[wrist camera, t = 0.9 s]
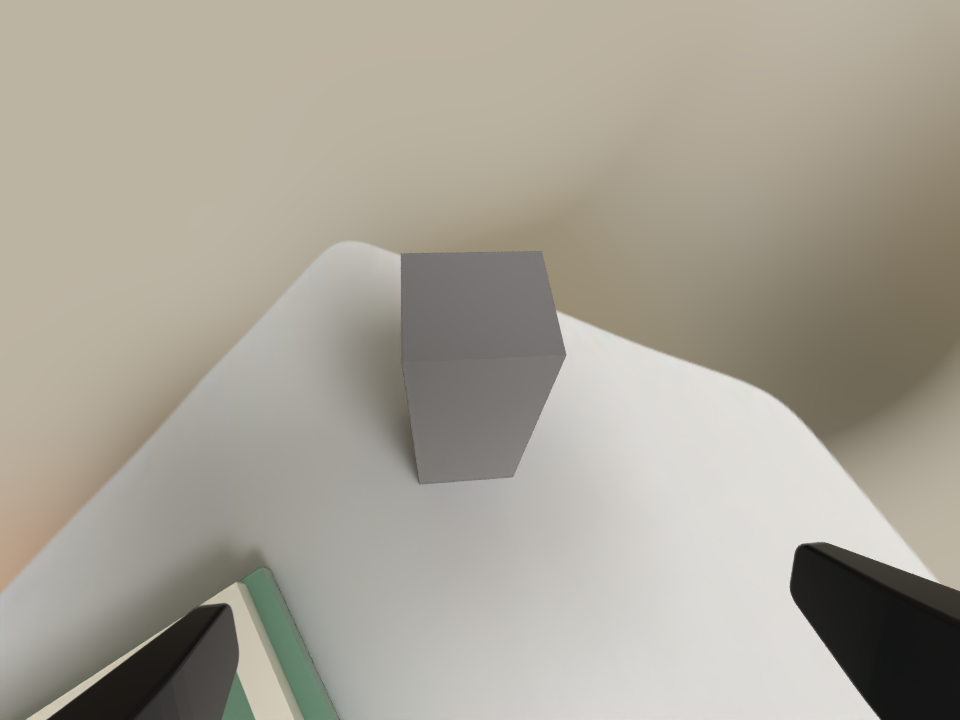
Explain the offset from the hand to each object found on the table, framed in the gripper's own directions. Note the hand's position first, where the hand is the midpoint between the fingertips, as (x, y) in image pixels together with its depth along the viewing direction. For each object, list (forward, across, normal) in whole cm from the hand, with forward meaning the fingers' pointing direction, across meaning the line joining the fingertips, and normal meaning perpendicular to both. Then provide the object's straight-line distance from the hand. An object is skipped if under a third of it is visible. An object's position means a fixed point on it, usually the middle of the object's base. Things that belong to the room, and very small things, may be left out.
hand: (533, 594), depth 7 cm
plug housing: (+15, 0, +4) cm, 16 cm away
